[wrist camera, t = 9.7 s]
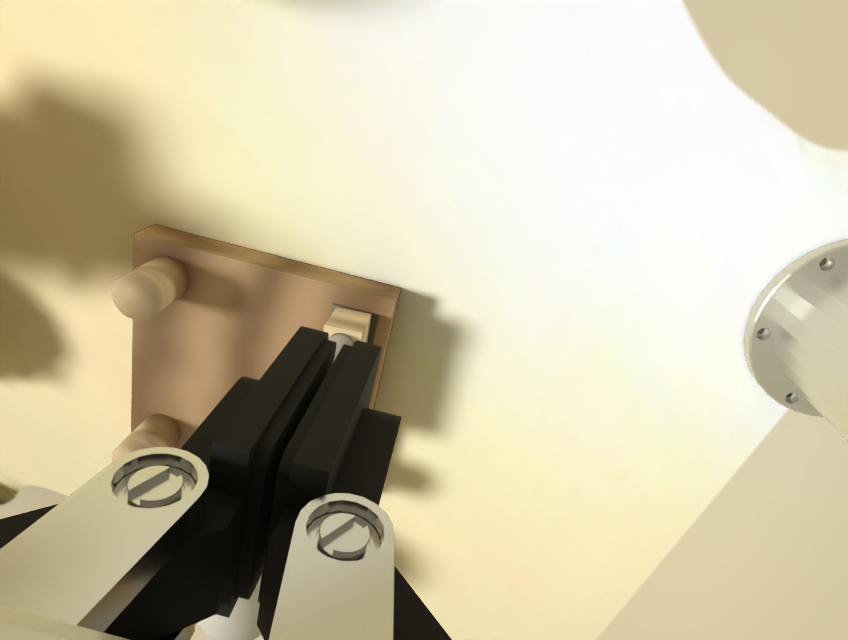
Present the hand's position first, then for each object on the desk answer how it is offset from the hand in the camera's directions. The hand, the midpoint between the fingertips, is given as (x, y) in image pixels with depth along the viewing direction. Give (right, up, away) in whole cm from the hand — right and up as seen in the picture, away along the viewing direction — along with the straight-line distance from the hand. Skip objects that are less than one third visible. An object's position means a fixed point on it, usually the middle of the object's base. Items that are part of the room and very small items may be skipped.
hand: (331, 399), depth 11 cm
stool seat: (-10, -2, +32) cm, 33 cm away
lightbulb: (-11, -16, +38) cm, 43 cm away
